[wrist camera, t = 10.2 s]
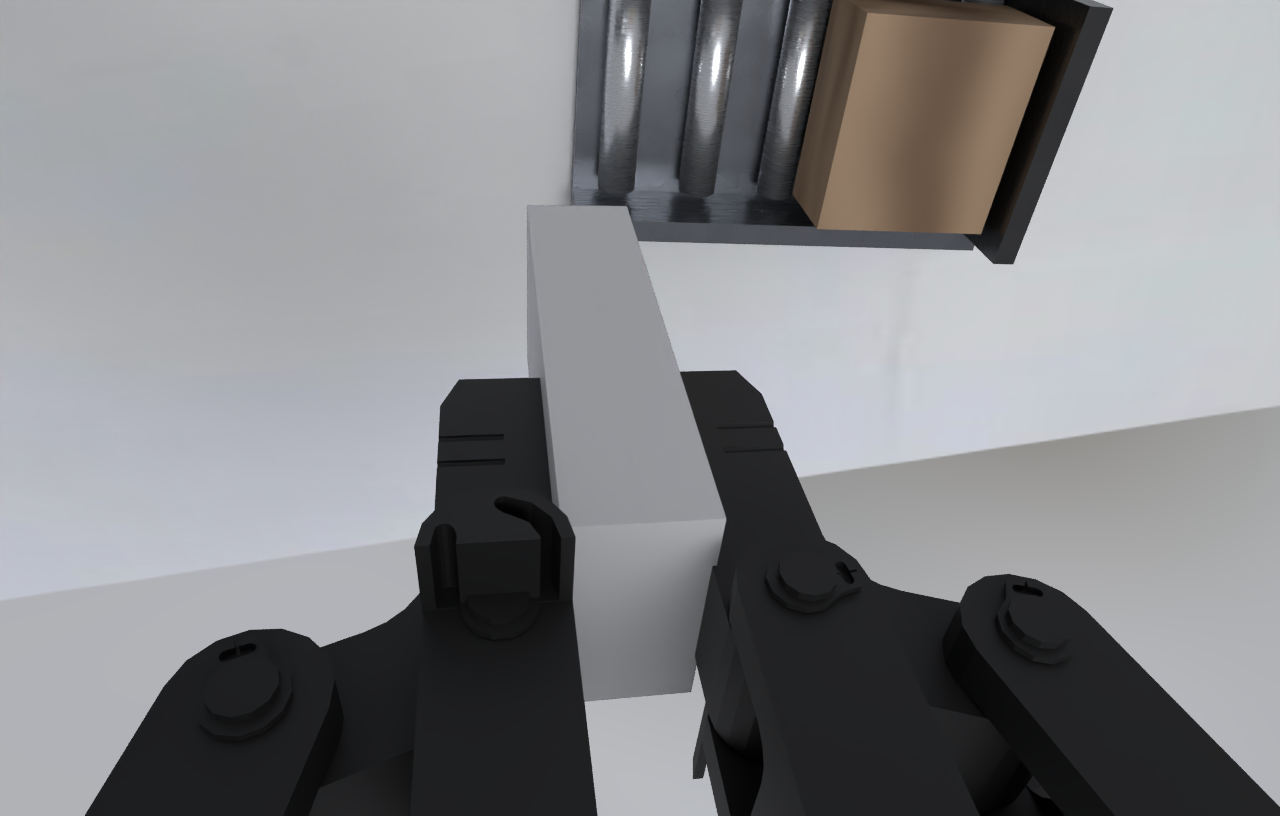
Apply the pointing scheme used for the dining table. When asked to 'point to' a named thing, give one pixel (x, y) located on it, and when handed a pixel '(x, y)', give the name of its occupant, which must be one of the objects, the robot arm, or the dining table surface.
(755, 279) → the dining table surface
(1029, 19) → the slab
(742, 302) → the dining table surface
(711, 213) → the roller bed
